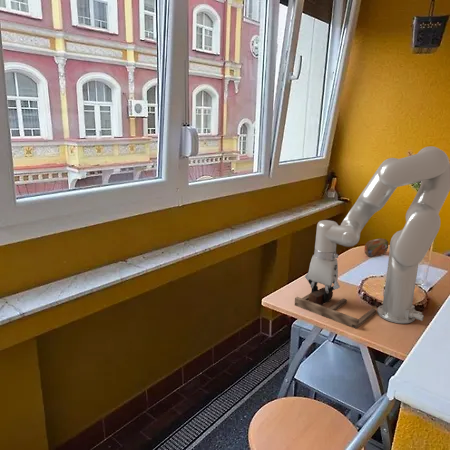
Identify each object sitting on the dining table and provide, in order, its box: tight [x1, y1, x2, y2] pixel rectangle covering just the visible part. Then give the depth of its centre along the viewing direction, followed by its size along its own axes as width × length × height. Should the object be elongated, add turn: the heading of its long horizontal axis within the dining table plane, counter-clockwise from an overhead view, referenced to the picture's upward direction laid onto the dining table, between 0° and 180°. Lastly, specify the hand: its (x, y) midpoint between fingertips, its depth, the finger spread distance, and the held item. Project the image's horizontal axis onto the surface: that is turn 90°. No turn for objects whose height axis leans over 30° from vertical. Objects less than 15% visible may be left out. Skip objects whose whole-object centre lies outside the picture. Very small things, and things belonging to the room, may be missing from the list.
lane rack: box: [294, 293, 377, 330], centre depth 148 cm, size 24×16×3 cm, turn 47°
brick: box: [308, 286, 334, 306], centre depth 153 cm, size 11×4×5 cm, turn 132°
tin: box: [364, 238, 389, 258], centre depth 204 cm, size 15×3×8 cm, turn 119°
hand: (320, 298), depth 153 cm, fingers closed on brick, 4 cm apart
